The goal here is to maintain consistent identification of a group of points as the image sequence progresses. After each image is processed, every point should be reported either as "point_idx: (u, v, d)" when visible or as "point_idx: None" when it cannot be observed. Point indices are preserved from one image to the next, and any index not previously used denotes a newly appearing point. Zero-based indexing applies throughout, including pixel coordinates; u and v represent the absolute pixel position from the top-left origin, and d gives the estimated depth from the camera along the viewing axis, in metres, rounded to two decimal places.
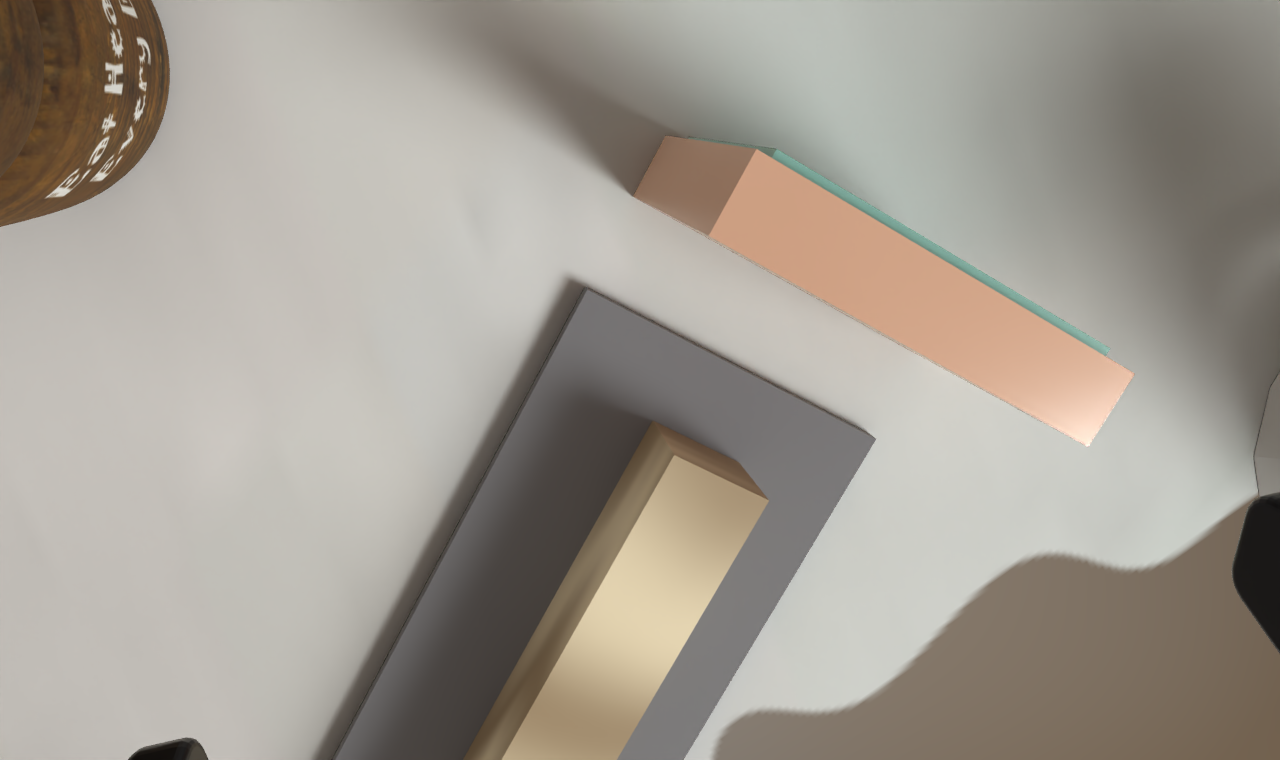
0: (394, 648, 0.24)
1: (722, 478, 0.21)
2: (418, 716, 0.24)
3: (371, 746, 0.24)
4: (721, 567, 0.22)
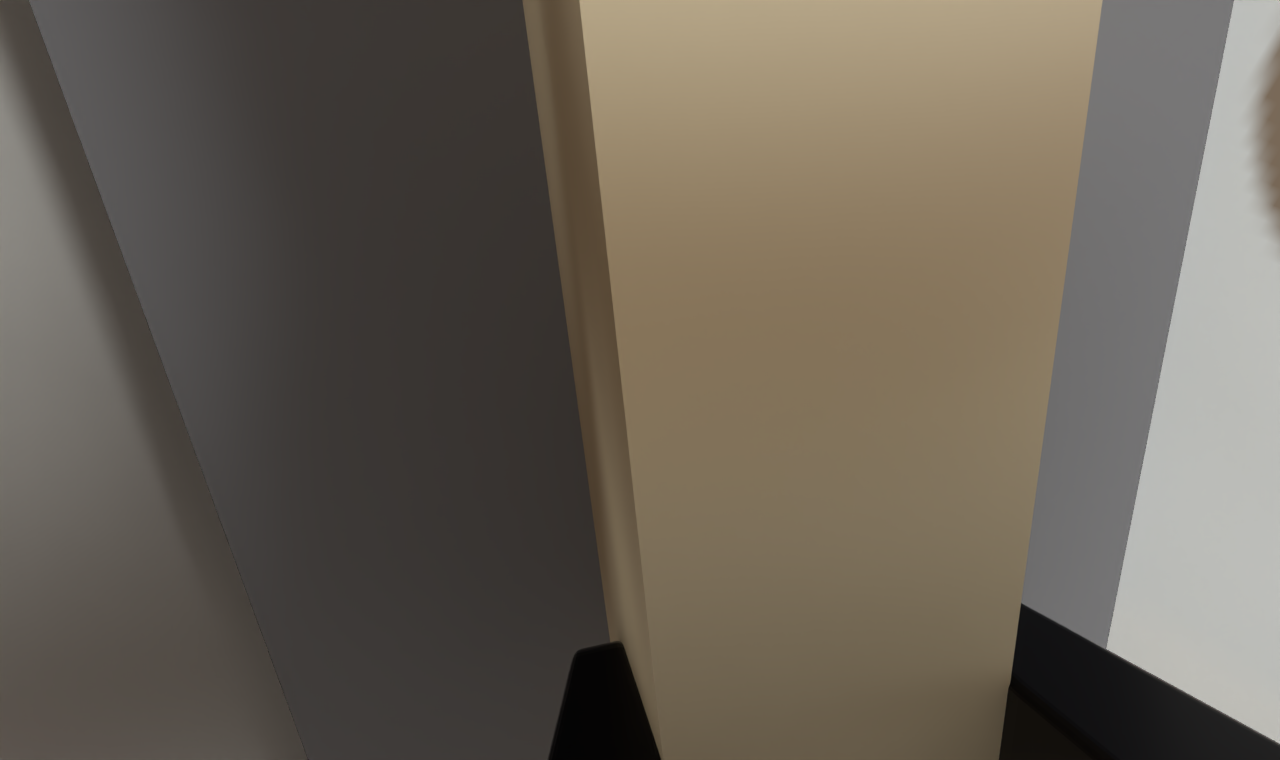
0: (174, 383, 0.07)
1: None
2: (399, 510, 0.08)
3: (346, 639, 0.08)
4: None
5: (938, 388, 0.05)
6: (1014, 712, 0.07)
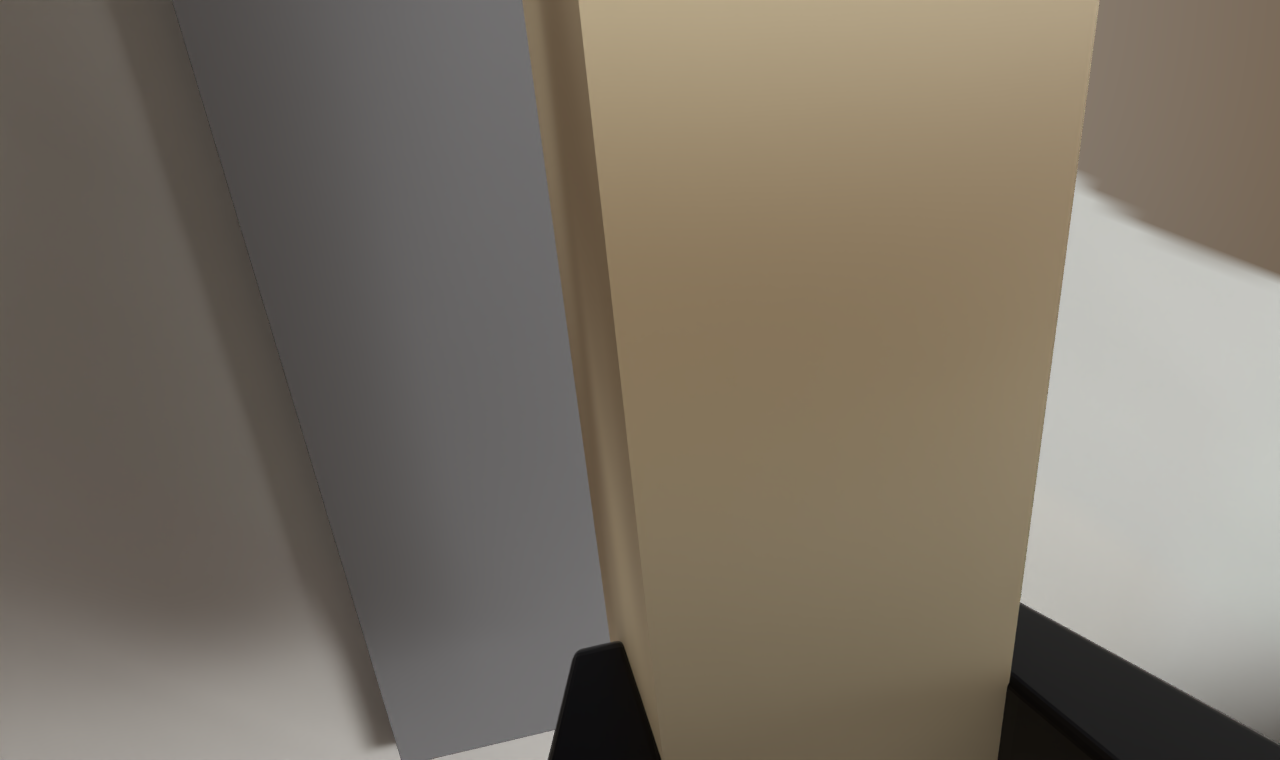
0: (238, 213, 0.10)
1: None
2: (392, 316, 0.11)
3: (355, 416, 0.12)
4: None
5: (937, 383, 0.05)
6: (1014, 712, 0.07)
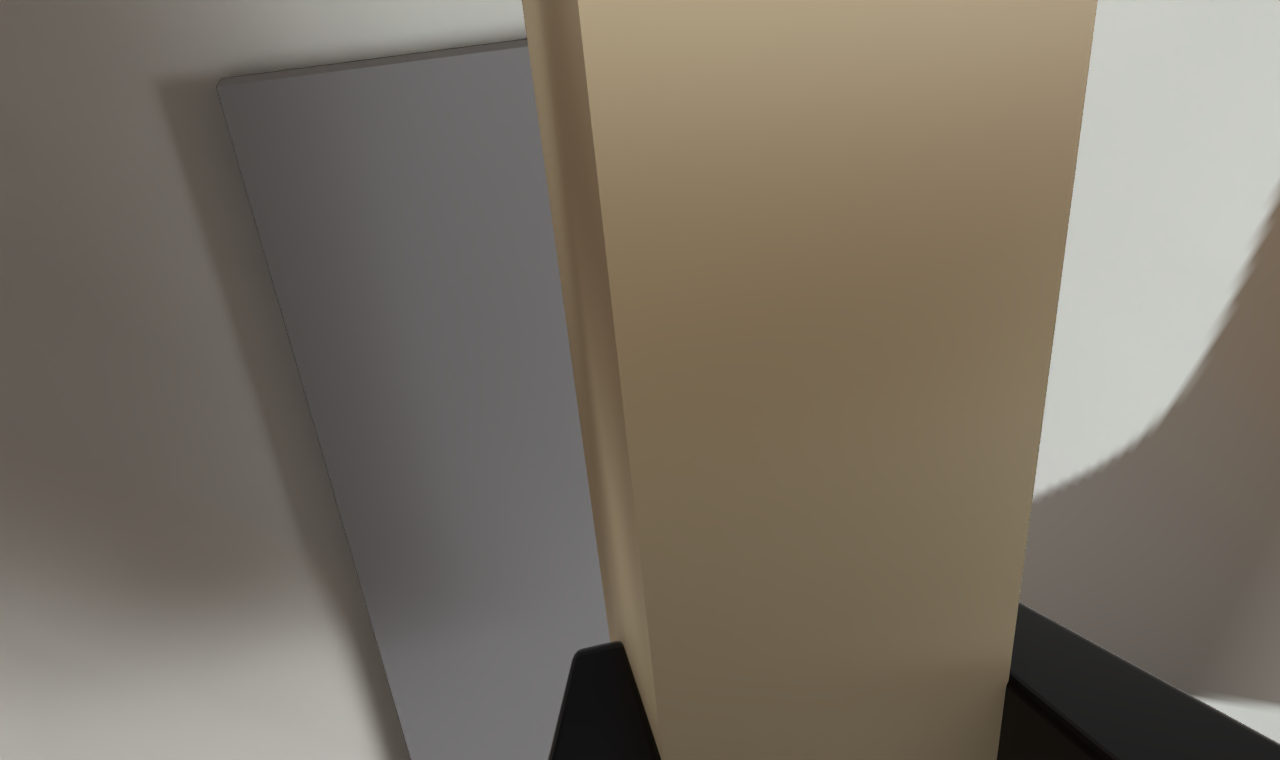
0: (411, 757, 0.15)
1: None
2: None
3: None
4: None
5: (936, 382, 0.05)
6: (1014, 712, 0.07)
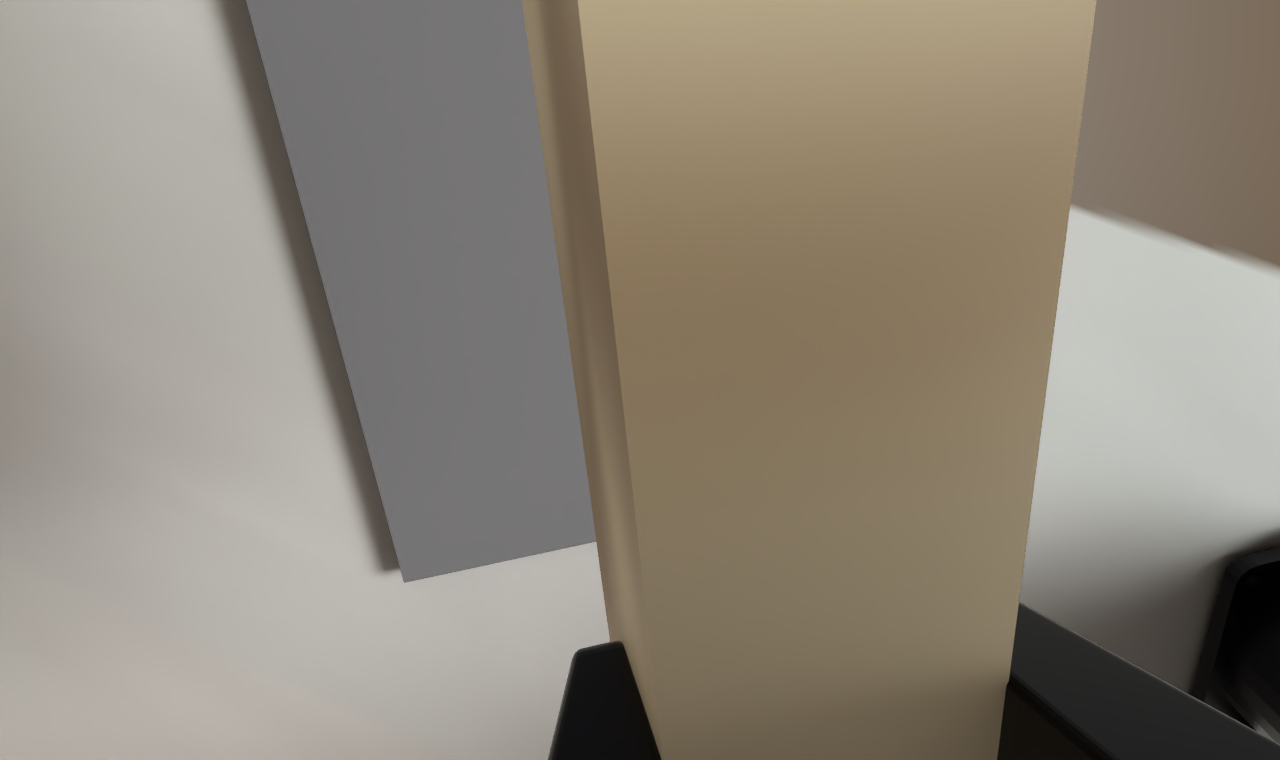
0: (286, 146, 0.15)
1: None
2: (394, 222, 0.16)
3: (368, 298, 0.16)
4: None
5: (935, 379, 0.05)
6: (1014, 712, 0.07)
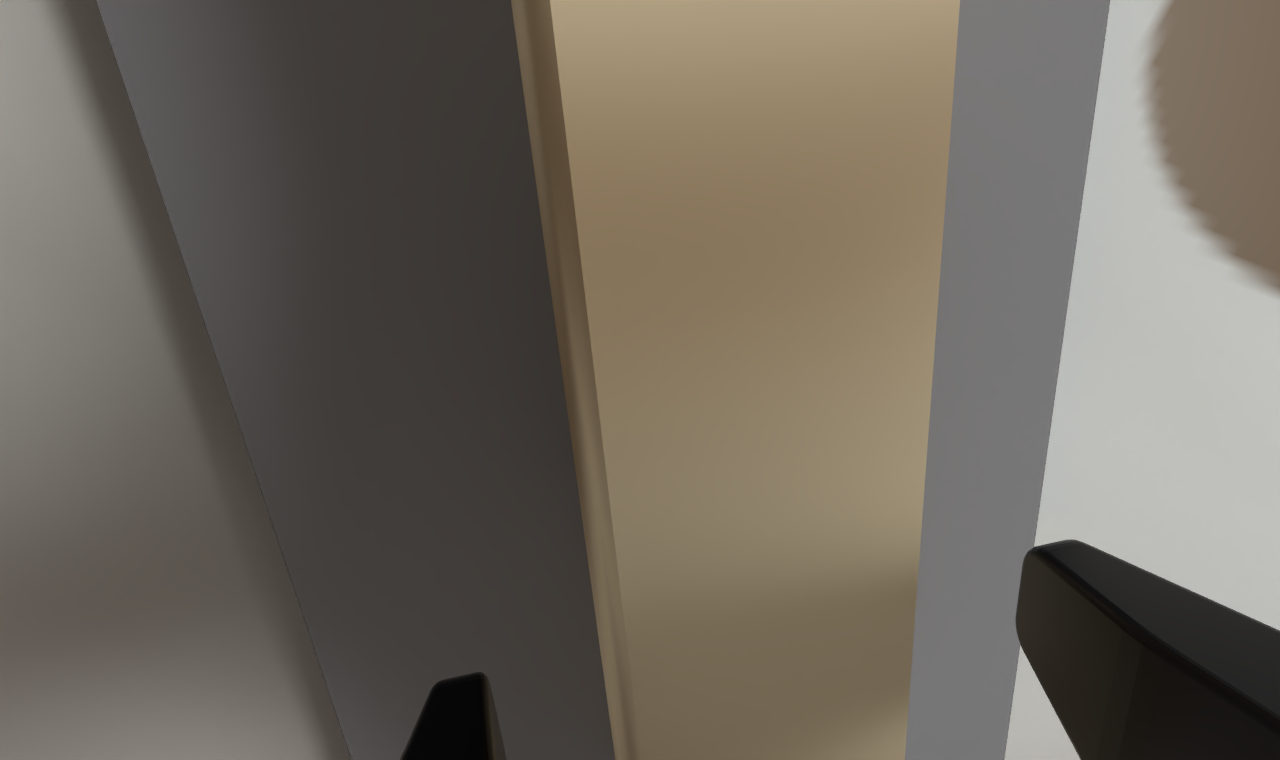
0: (201, 303, 0.08)
1: None
2: (394, 422, 0.09)
3: (348, 538, 0.10)
4: None
5: (844, 297, 0.07)
6: (1159, 676, 0.07)
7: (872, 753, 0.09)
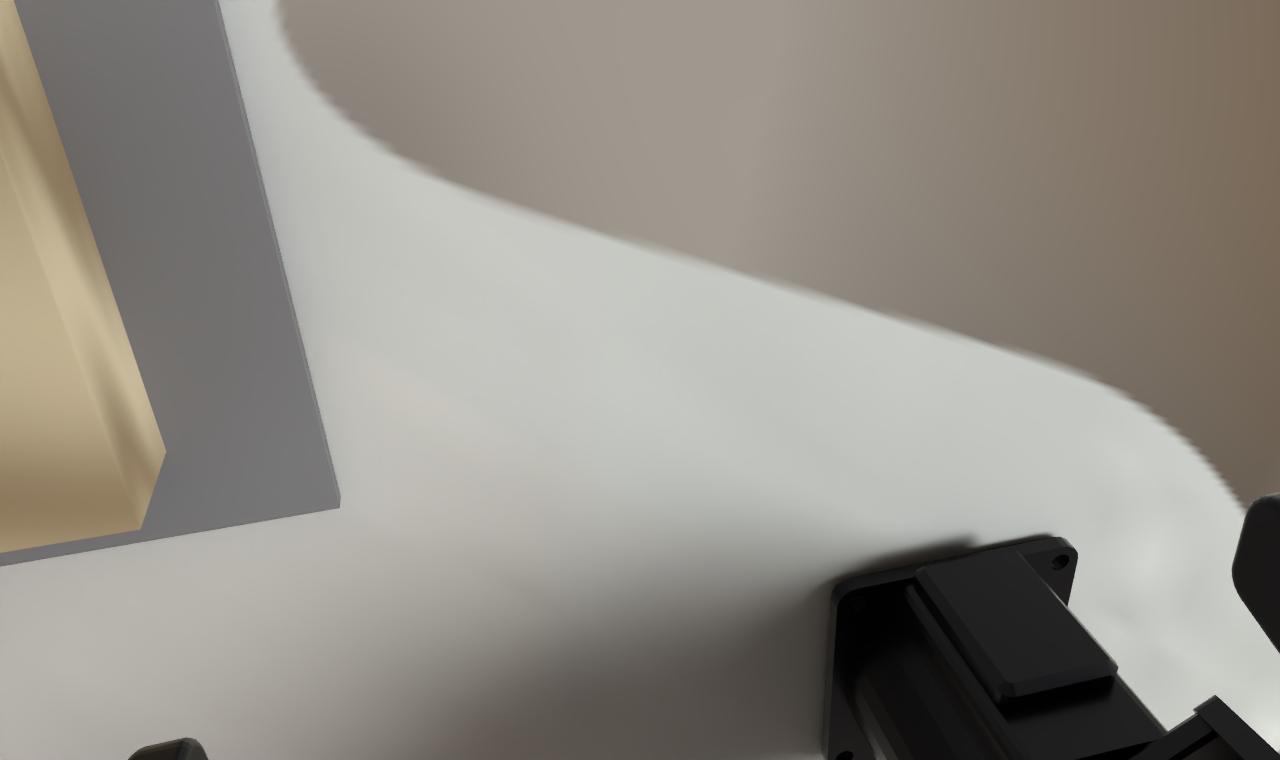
0: None
1: None
2: None
3: None
4: None
5: None
6: None
7: (75, 420, 0.15)
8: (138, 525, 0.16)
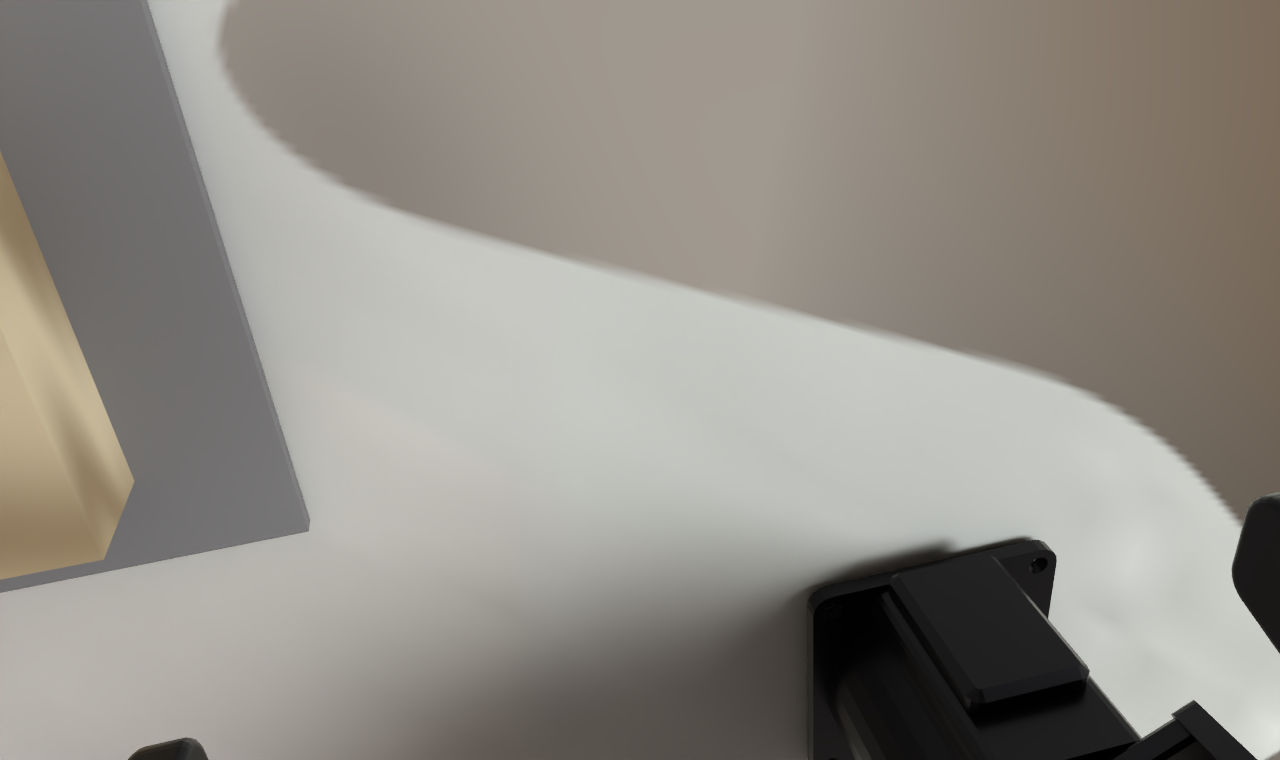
0: None
1: None
2: None
3: None
4: None
5: None
6: None
7: (33, 456, 0.16)
8: (101, 555, 0.17)
